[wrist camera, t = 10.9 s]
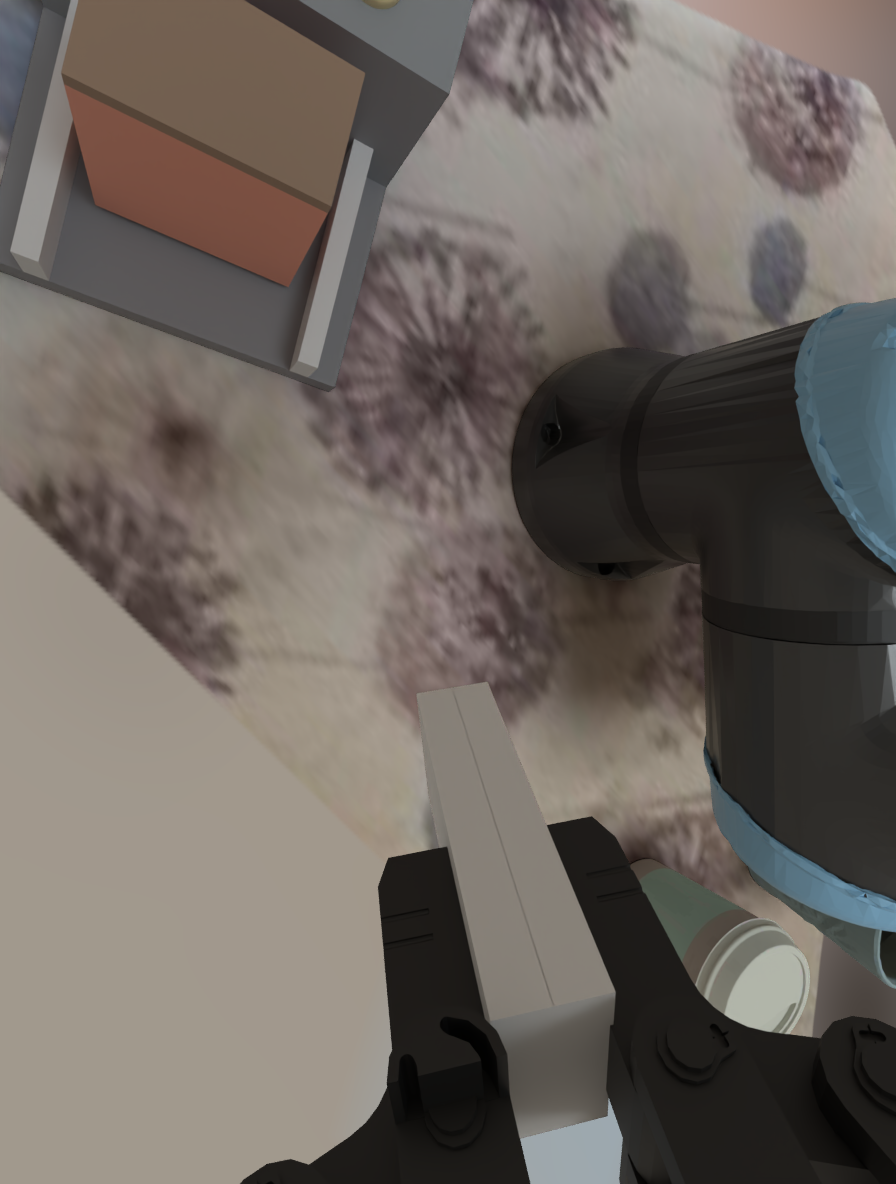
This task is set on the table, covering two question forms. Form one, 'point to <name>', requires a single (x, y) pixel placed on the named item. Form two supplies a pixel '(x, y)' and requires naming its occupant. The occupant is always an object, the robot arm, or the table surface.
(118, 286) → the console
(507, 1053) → the robot arm
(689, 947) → the coffee cup
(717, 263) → the table surface
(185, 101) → the orange brown-topped block
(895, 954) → the teal cup
